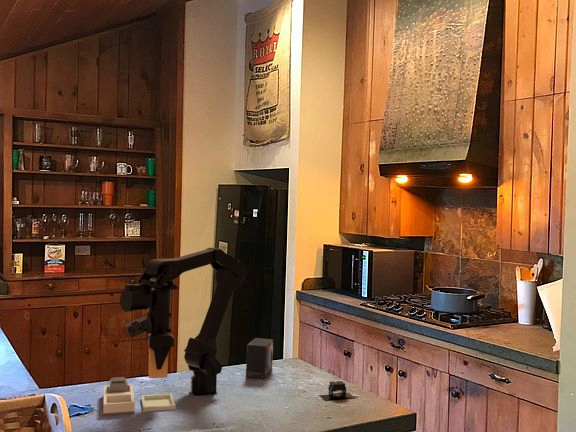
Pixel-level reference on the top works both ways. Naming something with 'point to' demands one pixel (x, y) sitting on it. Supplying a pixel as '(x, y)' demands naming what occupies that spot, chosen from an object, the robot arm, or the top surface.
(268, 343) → the small box
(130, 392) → the cream slotted rack
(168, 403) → the tray
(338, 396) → the dark boxy piece
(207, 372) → the robot arm
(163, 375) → the plug
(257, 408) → the top surface
